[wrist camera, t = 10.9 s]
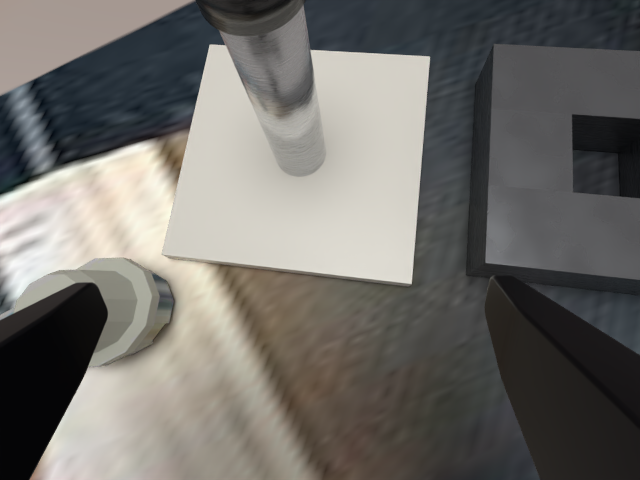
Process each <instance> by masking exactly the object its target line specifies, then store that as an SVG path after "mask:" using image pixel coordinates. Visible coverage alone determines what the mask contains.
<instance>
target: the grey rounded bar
mask: <svg viewBox="0 0 640 480" xmlns="http://www.w3.org/2000/svg"><path fill="white" fill-rule="evenodd" d="M78 282H93V283H95V284H96V285H97V286H98V288H99V290H100V292H101V295H102V297H103V299H104V302H105V304H106V306H107V309H108V318H107V321H106V324H105V326H104V329H103V331H102V334H101V336H100V339H99V341H98V344H97V346H96V349H95V351H94V354H93V356H92V359H91V361H90V363H89V366H88V367H99V366H106V365H108V364H110V363H112V362H114V361H116V360H118V359H120V358H122V357H124V356H126V355H132V354H134V353H136V352H138V351H140V350H142V349H144V348H145V347H147V346H149V345H151V344H153V339H154V338H155V336H156V335H157V334H158V333H159V331H160V330H161V329H162V327H163V326H164V325H165V323H169V321H170V316H171V311H172V306H173V301H174V300H173V297H172V294H171V291H170V289H169V286H168V283H167V281H166V280H164V279H163V278H161V277H159V276H158V275H156V274H155V273H153V272H152V271H150V270H147V269H145V268H143V267H142V266H140V265H139V264H137V263H135V262H134V261H132V260H131V259H126V258H100V259H94V260H92V261H90V262H88V263H87V264H85V265H83V266H81V267H79V268H78V269H76V270H59V271H56V272H53V273H50V274H48V275H46V276H44V277H42V278H40V279H38V280H37V281H35V282H33V283H31V284H30V285H29V286H28V287H27V288H26V290H25V291H24V292H23V293H22V295H21V296H20V297H19V299H18V300H17V301H16V305H15V308H13V309H11V310H9V311H7V312H5V313H3V314H1V315H0V320H1V319H3V318H5V317H7V316H9V315H11V314H13V313H15V312H17V311H19V310H21V309H23V308H26V307H28V306H30V305H32V304H34V303H36V302H38V301H40V300H42V299H44V298H46V297H48V296H50V295H52V294H54V293H56V292H58V291H60V290H62V289H64V288H66V287H68V286H70V285H72V284H74V283H78Z"/></svg>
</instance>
